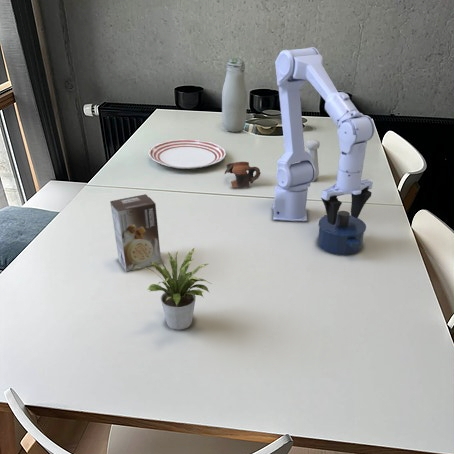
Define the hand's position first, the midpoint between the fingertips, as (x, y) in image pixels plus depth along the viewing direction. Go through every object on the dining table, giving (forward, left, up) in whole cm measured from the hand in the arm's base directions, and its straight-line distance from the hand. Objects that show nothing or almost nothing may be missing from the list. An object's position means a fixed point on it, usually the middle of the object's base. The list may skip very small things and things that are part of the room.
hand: (342, 219), depth 132 cm
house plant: (-37, -38, -7) cm, 54 cm away
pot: (0, 0, -7) cm, 7 cm away
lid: (0, 0, -2) cm, 2 cm away
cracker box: (-50, -14, -7) cm, 52 cm away
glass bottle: (-35, +93, -7) cm, 100 cm away
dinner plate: (-49, +57, -7) cm, 76 cm away
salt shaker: (-6, +44, -7) cm, 45 cm away
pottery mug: (-28, +38, -7) cm, 48 cm away
